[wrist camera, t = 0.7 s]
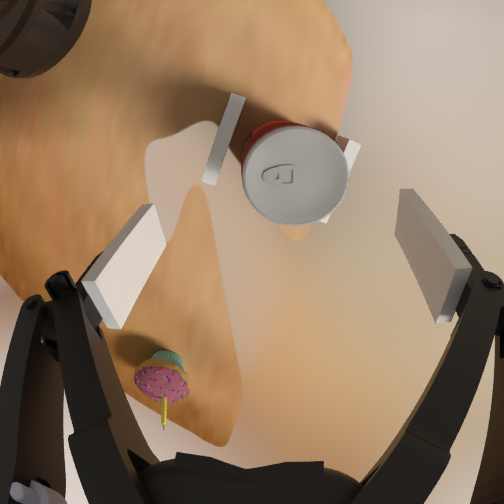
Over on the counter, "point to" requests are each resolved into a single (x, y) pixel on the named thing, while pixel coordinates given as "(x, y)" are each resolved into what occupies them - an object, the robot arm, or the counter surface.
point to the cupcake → (163, 379)
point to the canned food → (293, 173)
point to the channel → (226, 133)
